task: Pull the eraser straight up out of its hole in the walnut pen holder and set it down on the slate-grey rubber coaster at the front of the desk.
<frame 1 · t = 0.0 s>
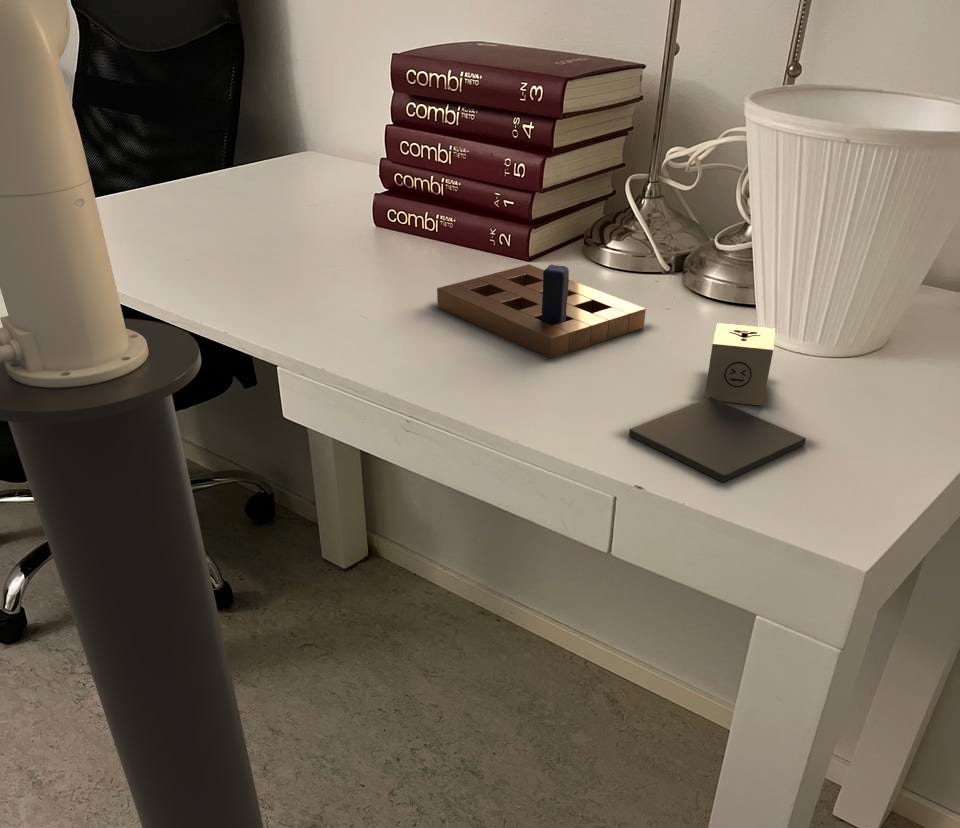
holder: (538, 317, 100), on the table
eraser: (552, 339, 96), resting in holder
coaster: (715, 440, 78), on the table
dice cube: (734, 393, 86), on the table
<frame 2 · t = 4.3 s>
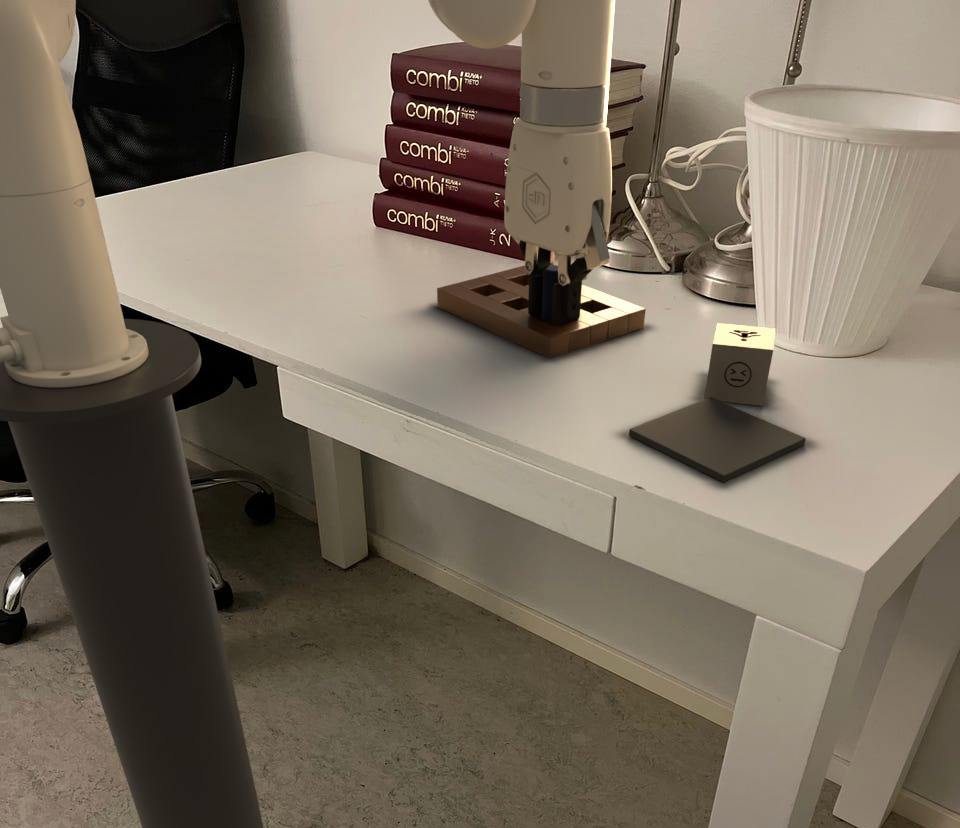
hand: (553, 315, 94), 2 cm above the table, tool pointing down, fingers closed on eraser, 2 cm apart
eraser: (552, 339, 96), resting in holder, touching gripper
everything else where it was.
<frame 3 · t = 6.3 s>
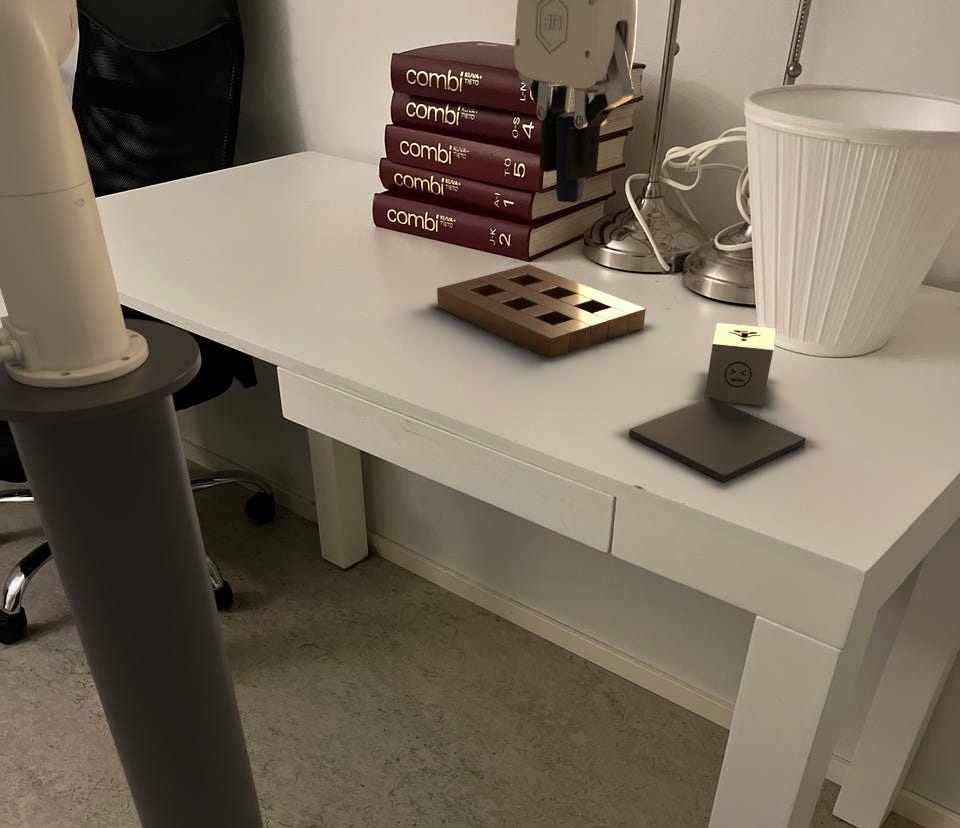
hand: (567, 171, 85), 16 cm above the table, tool pointing down, fingers closed on eraser, 2 cm apart
eraser: (570, 201, 86), point 13 cm above the table, touching gripper
everything else where it was.
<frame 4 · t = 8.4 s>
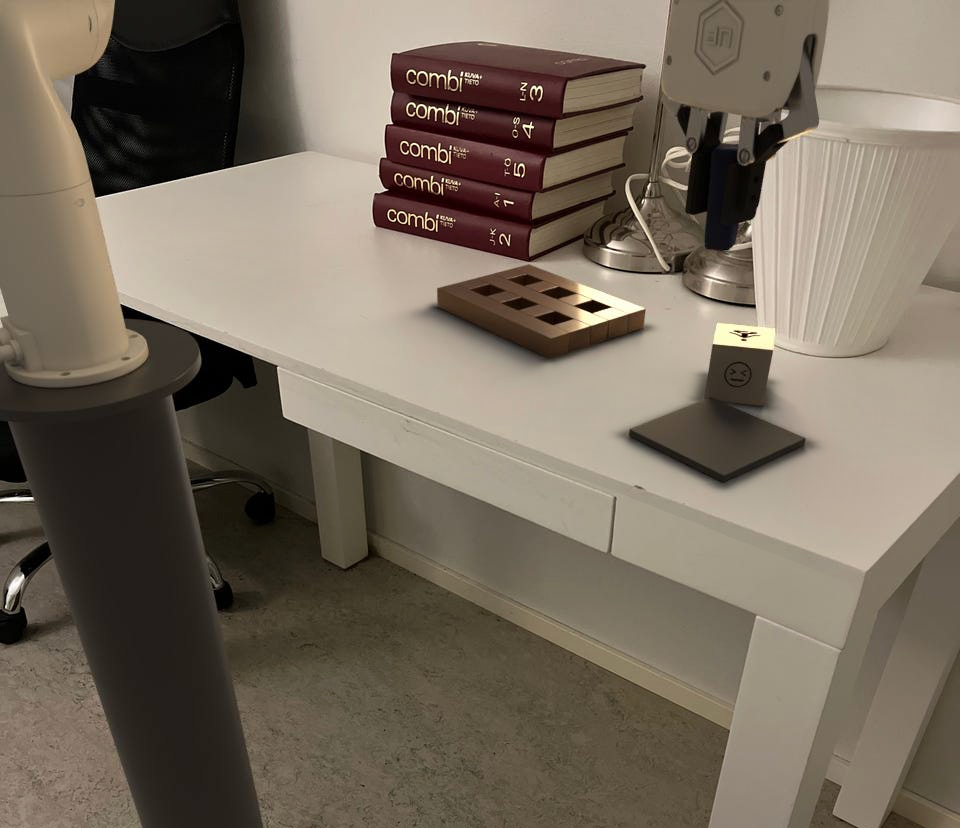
hand: (720, 214, 70), 17 cm above the table, tool pointing down, fingers closed on eraser, 2 cm apart
eraser: (719, 248, 72), point 14 cm above the table, touching gripper
everything else where it was.
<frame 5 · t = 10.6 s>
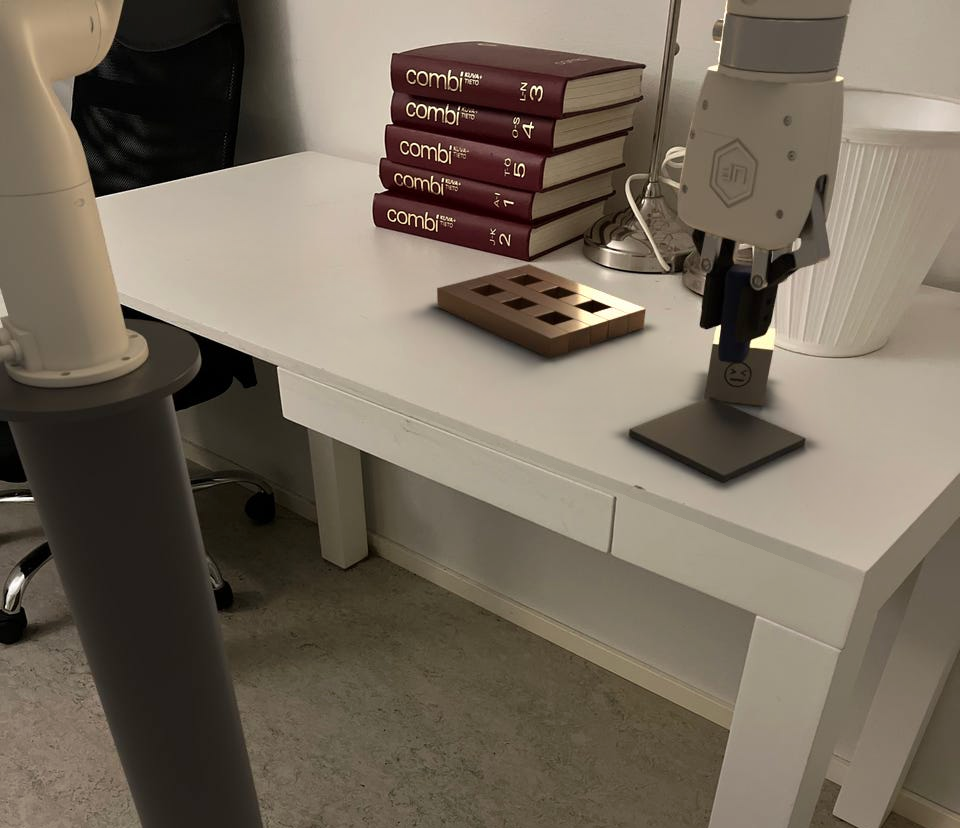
hand: (733, 329, 73), 9 cm above the table, tool pointing down, fingers closed on eraser, 2 cm apart
eraser: (733, 360, 74), point 7 cm above the table, touching gripper
everything else where it was.
when the fingers open (3 cm above the table, at t = 12.6 s): eraser stays where it is, resting on coaster.
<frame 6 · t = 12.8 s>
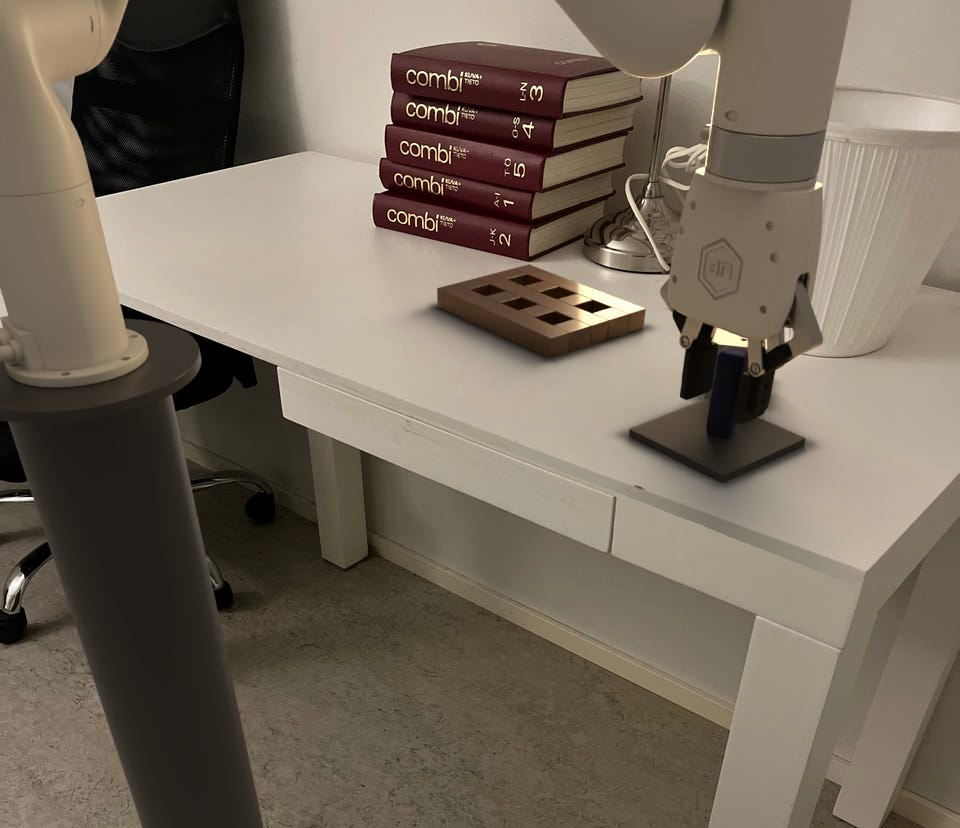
hand: (721, 404, 76), 3 cm above the table, tool pointing down, fingers open, 4 cm apart
eraser: (719, 434, 78), resting on coaster
everything else where it was.
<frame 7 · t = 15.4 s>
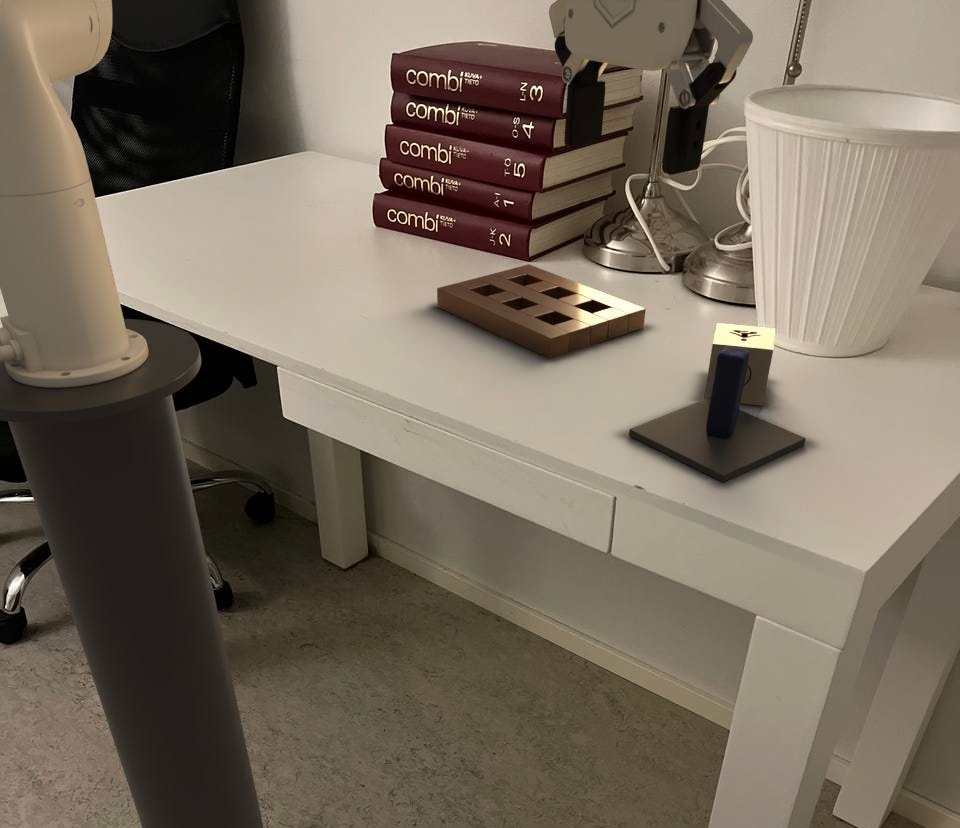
hand: (629, 157, 68), 20 cm above the table, tool pointing down, fingers open, 9 cm apart
nothing on the table moved.
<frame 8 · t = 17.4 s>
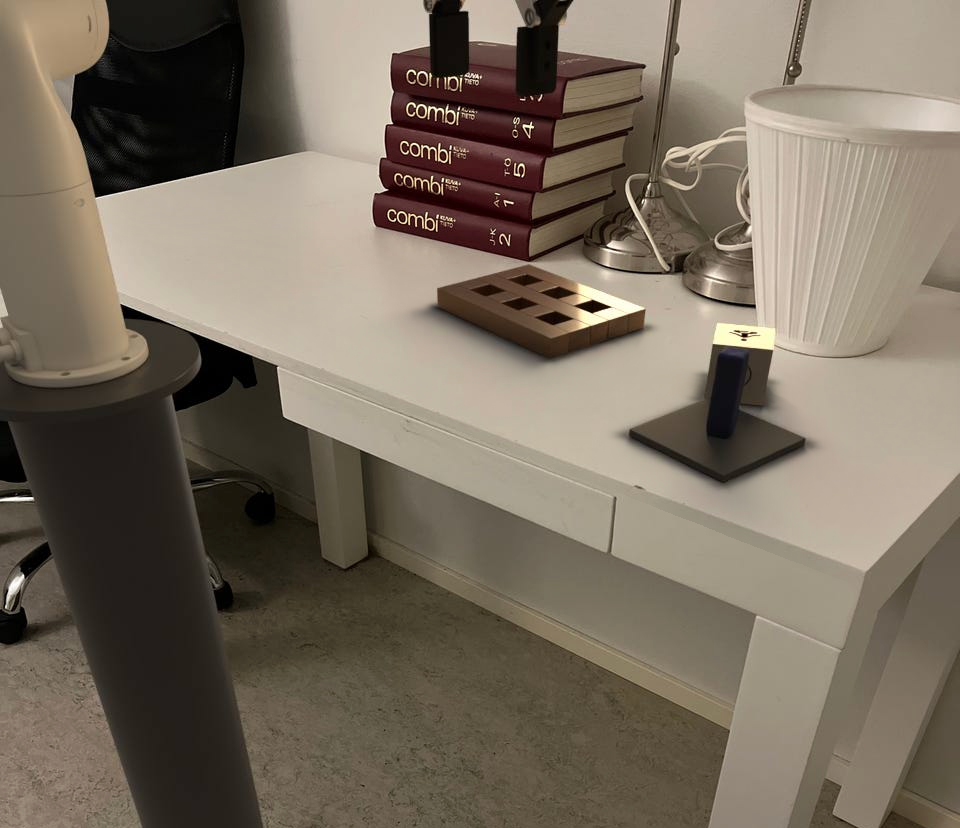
hand: (491, 84, 69), 24 cm above the table, tool pointing down, fingers open, 9 cm apart
nothing on the table moved.
at the end: eraser inside the target area on the coaster (0.3 cm from its centre), point 0.4 cm above the coaster's base; eraser touching coaster; the gripper is holding nothing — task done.
